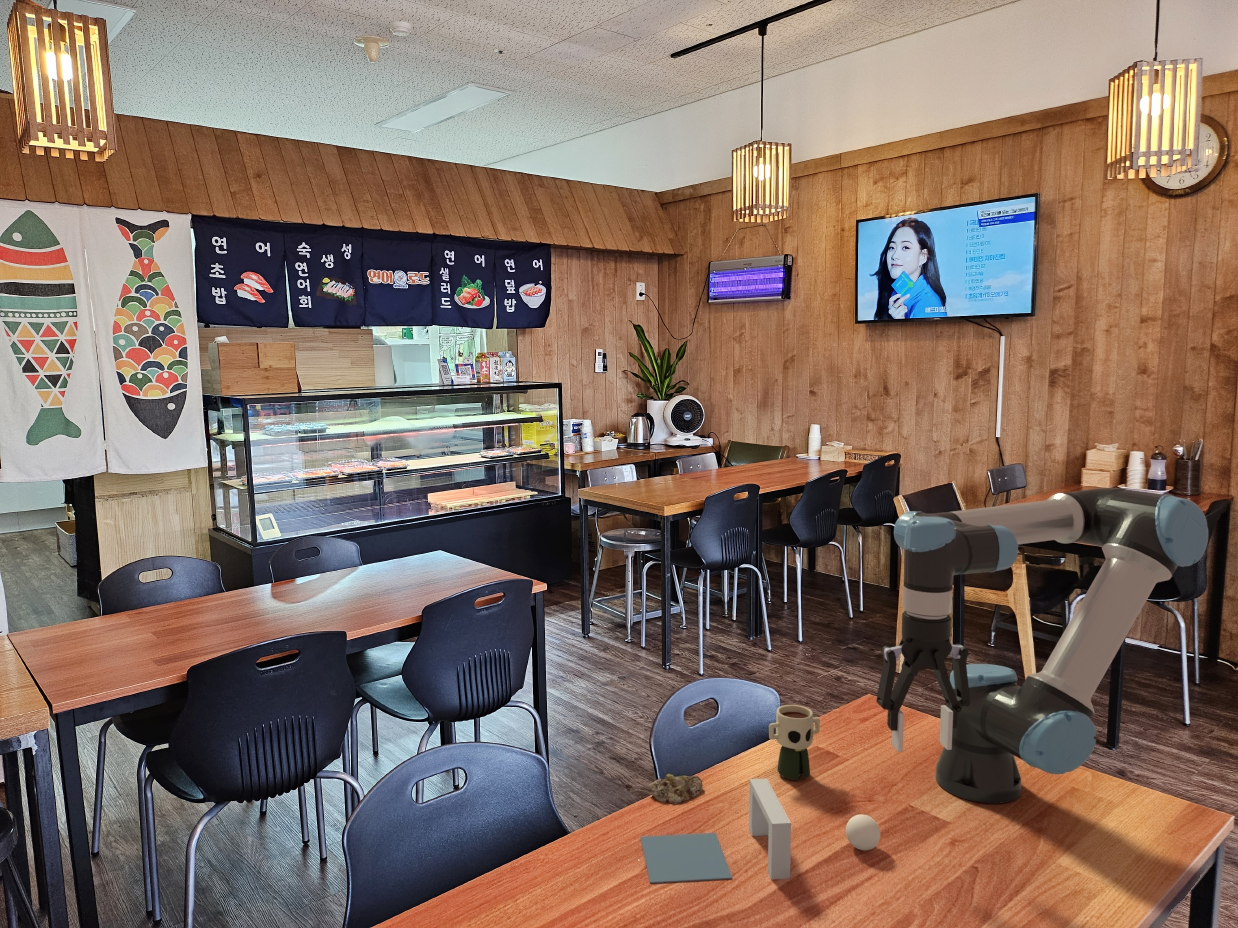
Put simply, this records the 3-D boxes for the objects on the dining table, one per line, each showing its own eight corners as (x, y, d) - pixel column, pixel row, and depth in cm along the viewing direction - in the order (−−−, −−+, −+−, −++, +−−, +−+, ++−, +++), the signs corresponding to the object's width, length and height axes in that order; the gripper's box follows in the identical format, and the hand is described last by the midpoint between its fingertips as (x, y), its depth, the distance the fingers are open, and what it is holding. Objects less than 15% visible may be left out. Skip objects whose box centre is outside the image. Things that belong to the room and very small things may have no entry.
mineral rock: (659, 798, 154) (644, 767, 161) (656, 816, 156) (641, 786, 163) (713, 790, 158) (696, 761, 165) (709, 809, 159) (693, 779, 166)
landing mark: (715, 833, 146) (715, 832, 146) (732, 878, 133) (732, 877, 133) (640, 837, 145) (640, 836, 145) (649, 883, 132) (649, 881, 132)
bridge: (765, 828, 148) (766, 778, 147) (789, 878, 133) (791, 822, 132) (748, 829, 147) (749, 778, 146) (771, 879, 133) (772, 823, 132)
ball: (872, 837, 145) (873, 807, 144) (885, 856, 139) (886, 824, 139) (840, 839, 144) (841, 808, 144) (852, 857, 139) (853, 826, 138)
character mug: (776, 787, 162) (778, 722, 161) (760, 770, 169) (761, 707, 168) (827, 779, 165) (829, 715, 164) (809, 763, 172) (810, 701, 171)
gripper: (975, 604, 143) (969, 734, 145) (856, 607, 141) (853, 739, 144) (999, 617, 135) (992, 754, 138) (874, 621, 134) (870, 759, 136)
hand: (921, 746), depth 141 cm, fingers open, 8 cm apart
